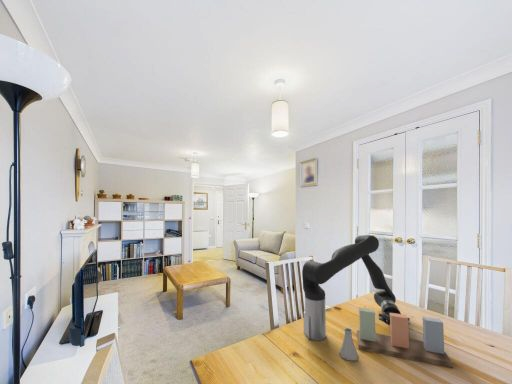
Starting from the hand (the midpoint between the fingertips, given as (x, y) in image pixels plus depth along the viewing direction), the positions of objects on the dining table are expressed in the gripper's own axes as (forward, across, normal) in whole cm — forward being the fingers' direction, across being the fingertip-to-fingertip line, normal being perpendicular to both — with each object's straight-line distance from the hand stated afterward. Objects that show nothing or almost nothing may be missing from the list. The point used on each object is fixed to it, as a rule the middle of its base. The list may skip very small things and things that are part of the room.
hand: (398, 328), depth 99 cm
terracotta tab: (+2, 0, +6) cm, 6 cm away
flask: (+12, -20, +8) cm, 25 cm away
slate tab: (+1, +12, +6) cm, 13 cm away
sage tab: (+1, -12, +6) cm, 13 cm away
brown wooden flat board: (+1, 0, +8) cm, 8 cm away
